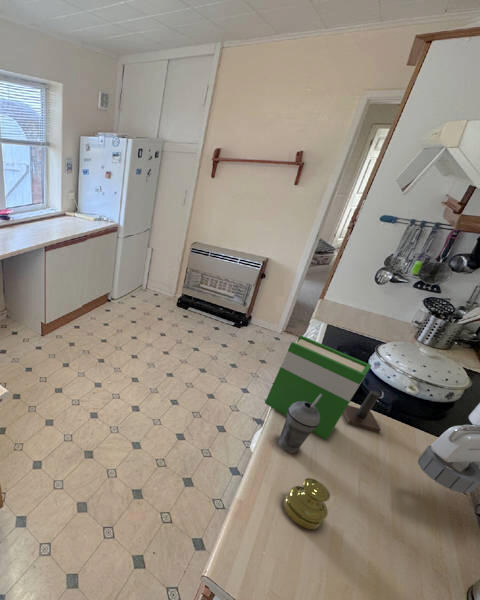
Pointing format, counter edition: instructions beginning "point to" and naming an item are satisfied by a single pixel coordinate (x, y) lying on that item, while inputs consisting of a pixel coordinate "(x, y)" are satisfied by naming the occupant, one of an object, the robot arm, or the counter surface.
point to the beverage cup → (299, 424)
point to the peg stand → (363, 414)
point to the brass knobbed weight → (307, 503)
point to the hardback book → (317, 381)
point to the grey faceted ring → (449, 472)
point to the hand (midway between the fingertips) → (463, 468)
